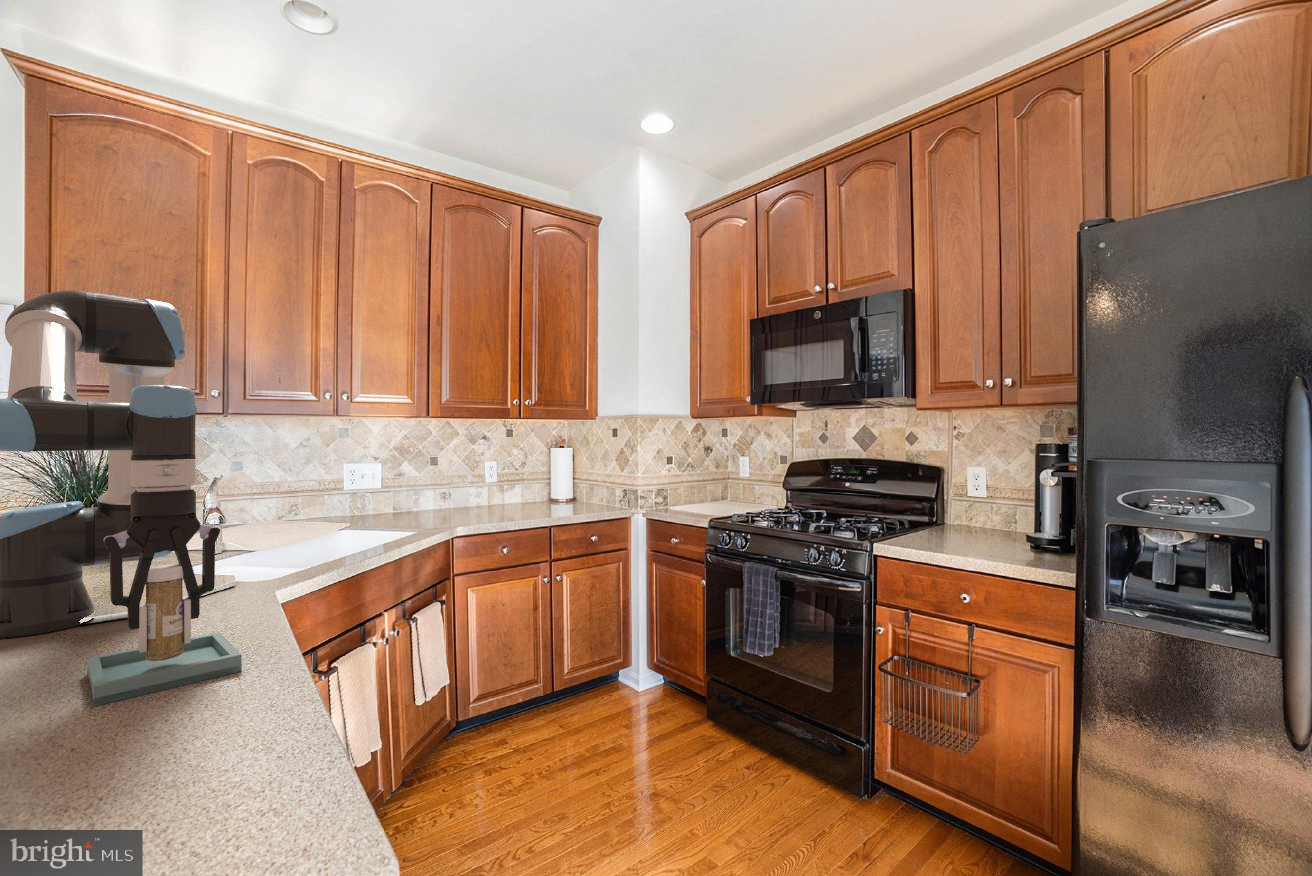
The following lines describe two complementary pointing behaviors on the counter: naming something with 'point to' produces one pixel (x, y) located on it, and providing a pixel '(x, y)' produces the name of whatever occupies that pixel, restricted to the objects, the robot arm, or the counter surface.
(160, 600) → the sprinkles bottle
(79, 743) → the counter surface
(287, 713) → the counter surface
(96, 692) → the tray
